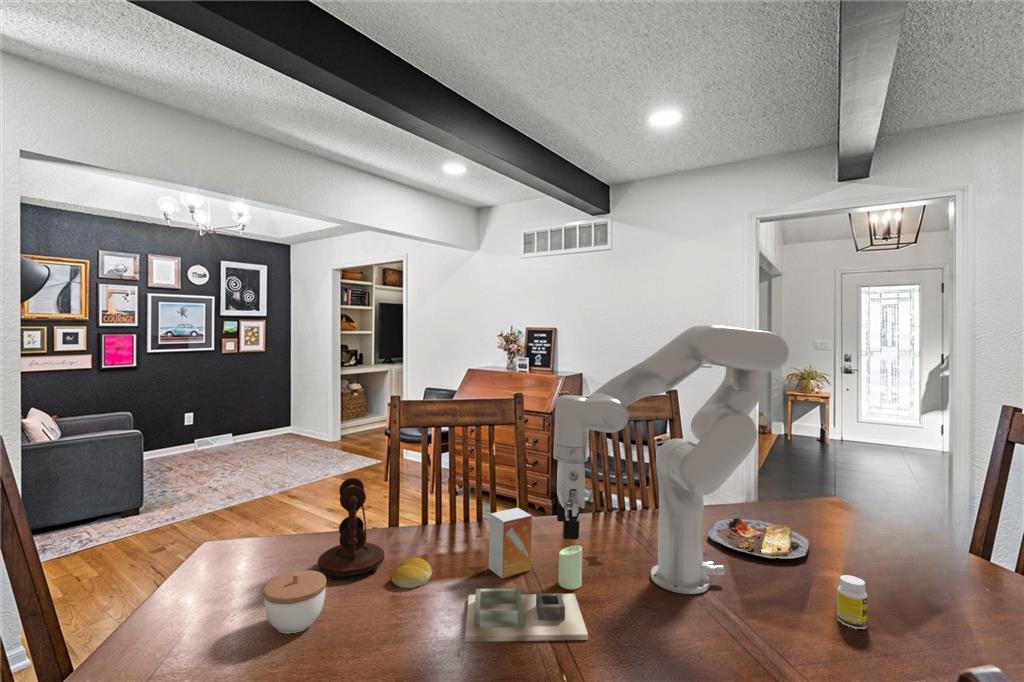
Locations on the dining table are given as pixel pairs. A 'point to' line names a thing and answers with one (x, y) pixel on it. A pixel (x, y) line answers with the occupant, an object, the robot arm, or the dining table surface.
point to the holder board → (523, 616)
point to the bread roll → (412, 573)
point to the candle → (570, 567)
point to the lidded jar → (294, 600)
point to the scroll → (351, 538)
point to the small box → (510, 542)
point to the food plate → (773, 537)
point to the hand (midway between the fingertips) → (567, 529)
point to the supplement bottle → (852, 602)
